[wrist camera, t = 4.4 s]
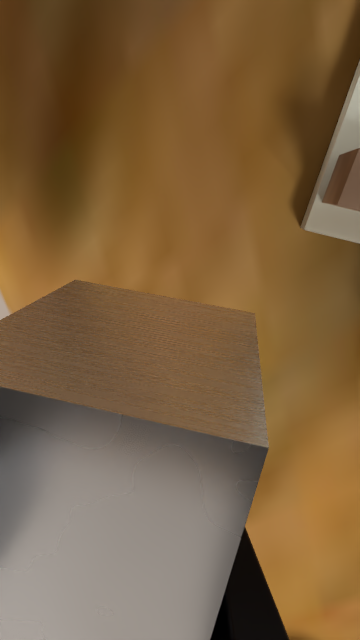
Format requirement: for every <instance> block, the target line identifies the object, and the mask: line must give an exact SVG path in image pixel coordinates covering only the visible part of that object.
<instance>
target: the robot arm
mask: <svg viewBox="0 0 360 640" xmlns="http://www.w3.org/2000/svg"><path fill="white" fill-rule="evenodd" d="M210 640H289V637H288V635H287V632H286V630H285V627H284V625H283V622H282V620H281V617H280V615H279V612H278V610H277V607H276V604H275V602H274V599H273V597H272V594H271V592H270V589H269V587H268V584H267V582H266V579H265V576H264V574H263V571H262V569H261V566H260V564H259V561H258V559H257V556H256V554H255V551H254V549H253V546H252V543H251V541H250V538H249V536H248V533H247V531H246V528H245V527H244V530H243V533H242V537H241V540H240V543H239V547H238V550H237V553H236V556H235V560H234V563H233V566H232V570H231V573H230V576H229V579H228V583H227V586H226V589H225V592H224V596H223V599H222V602H221V606H220V609H219V612H218V615H217V619H216V622H215V625H214V629H213V632H212V635H211V638H210Z"/></svg>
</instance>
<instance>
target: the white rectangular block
mask: <svg viewBox="0 0 360 640" xmlns="http://www.w3.org/2000/svg"><path fill="white" fill-rule="evenodd" d="M268 448H269V447H268V437H267V428H266V418H265V408H264V398H263V388H262V379H261V369H260V359H259V349H258V340H257V330H256V320H255V313H251V312H246V311H240V310H235V309H230V308H224V307H219V306H214V305H208V304H203V303H197V302H192V301H187V300H181V299H176V298H171V297H165V296H160V295H154V294H149V293H144V292H138V291H133V290H128V289H122V288H117V287H111V286H106V285H101V284H95V283H90V282H84V281H79V280H74V281H72V282H70V283H68V284H66V285H65V286H63V287H61V288H59V289H57V290H55V291H53V292H52V293H50V294H48V295H46V296H44V297H42V298H40V299H39V300H37V301H35V302H33V303H31V304H29V305H27V306H26V307H24V308H22V309H20V310H18V311H16V312H14V313H13V314H11V315H9V316H7V317H5V318H3V319H2V320H0V640H210V638H211V635H212V632H213V629H214V625H215V622H216V619H217V615H218V612H219V609H220V606H221V602H222V599H223V596H224V592H225V589H226V586H227V583H228V579H229V576H230V573H231V570H232V566H233V563H234V560H235V556H236V553H237V550H238V547H239V543H240V540H241V537H242V533H243V530H244V527H245V524H246V520H247V517H248V514H249V510H250V507H251V504H252V501H253V497H254V494H255V491H256V488H257V484H258V481H259V478H260V474H261V471H262V468H263V465H264V461H265V458H266V455H267V451H268Z"/></svg>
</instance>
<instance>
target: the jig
mask: <svg viewBox="0 0 360 640" xmlns="http://www.w3.org/2000/svg"><path fill="white" fill-rule="evenodd" d="M300 228H302V229H304V230H307V231H311V232H315V233H319V234H323V235H327V236H331V237H335V238H339V239H343V240H347V241H351V242H355V243H359V244H360V61H359V63H358V66H357V69H356V72H355V75H354V78H353V80H352V83H351V86H350V89H349V92H348V94H347V97H346V100H345V103H344V106H343V109H342V111H341V114H340V117H339V120H338V123H337V125H336V128H335V131H334V134H333V137H332V140H331V142H330V145H329V148H328V151H327V154H326V156H325V159H324V162H323V165H322V168H321V171H320V173H319V176H318V179H317V182H316V185H315V187H314V190H313V193H312V196H311V199H310V202H309V204H308V207H307V210H306V213H305V216H304V218H303V221H302V224H301V227H300Z"/></svg>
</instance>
